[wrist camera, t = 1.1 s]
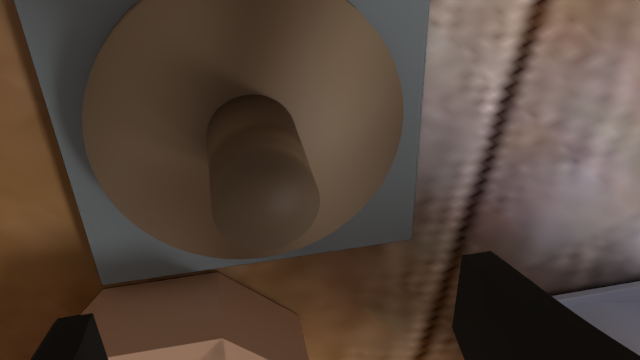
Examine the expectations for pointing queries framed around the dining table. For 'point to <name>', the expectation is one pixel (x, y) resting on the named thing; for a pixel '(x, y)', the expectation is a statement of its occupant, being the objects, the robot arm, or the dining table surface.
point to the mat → (136, 245)
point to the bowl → (195, 322)
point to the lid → (242, 121)
